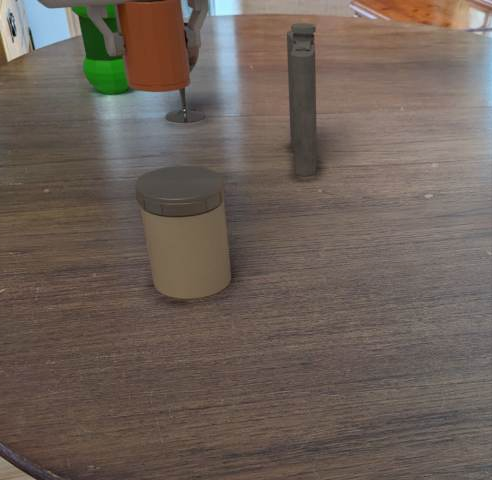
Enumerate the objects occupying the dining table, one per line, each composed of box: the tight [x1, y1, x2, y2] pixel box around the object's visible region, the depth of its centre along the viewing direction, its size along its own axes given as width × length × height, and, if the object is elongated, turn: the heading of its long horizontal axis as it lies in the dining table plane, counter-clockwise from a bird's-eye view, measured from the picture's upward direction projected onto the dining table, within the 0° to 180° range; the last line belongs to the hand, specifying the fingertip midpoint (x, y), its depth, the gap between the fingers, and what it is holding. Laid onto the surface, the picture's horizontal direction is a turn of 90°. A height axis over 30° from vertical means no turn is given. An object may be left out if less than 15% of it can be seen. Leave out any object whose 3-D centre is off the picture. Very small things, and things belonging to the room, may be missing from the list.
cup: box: [114, 0, 191, 93], centre depth 72 cm, size 6×6×8 cm
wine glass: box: [164, 21, 206, 123], centre depth 128 cm, size 8×8×15 cm
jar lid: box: [134, 165, 226, 216], centre depth 79 cm, size 9×9×2 cm
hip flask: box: [286, 22, 318, 177], centre depth 112 cm, size 16×4×20 cm, turn 9°
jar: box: [139, 199, 232, 300], centre depth 82 cm, size 9×9×12 cm
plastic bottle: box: [70, 4, 130, 95], centre depth 135 cm, size 10×10×25 cm
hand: (154, 50), depth 72 cm, fingers closed on cup, 6 cm apart
